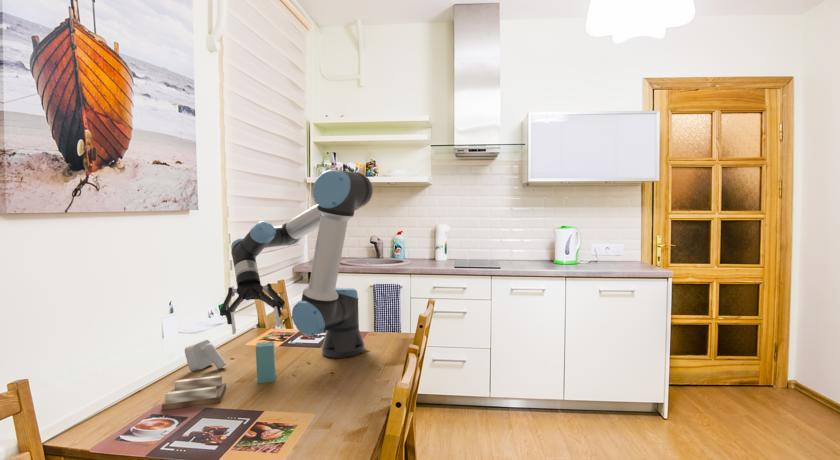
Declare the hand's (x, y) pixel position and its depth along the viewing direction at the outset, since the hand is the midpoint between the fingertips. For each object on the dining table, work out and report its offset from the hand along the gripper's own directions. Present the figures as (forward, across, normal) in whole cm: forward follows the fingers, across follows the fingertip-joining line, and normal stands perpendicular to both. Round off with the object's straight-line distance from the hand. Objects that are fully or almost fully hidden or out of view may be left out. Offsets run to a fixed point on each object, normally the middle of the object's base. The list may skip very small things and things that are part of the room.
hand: (257, 328), depth 142 cm
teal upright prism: (+17, 0, -3) cm, 17 cm away
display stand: (+19, +19, 0) cm, 27 cm away
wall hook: (+2, +14, -18) cm, 23 cm away
